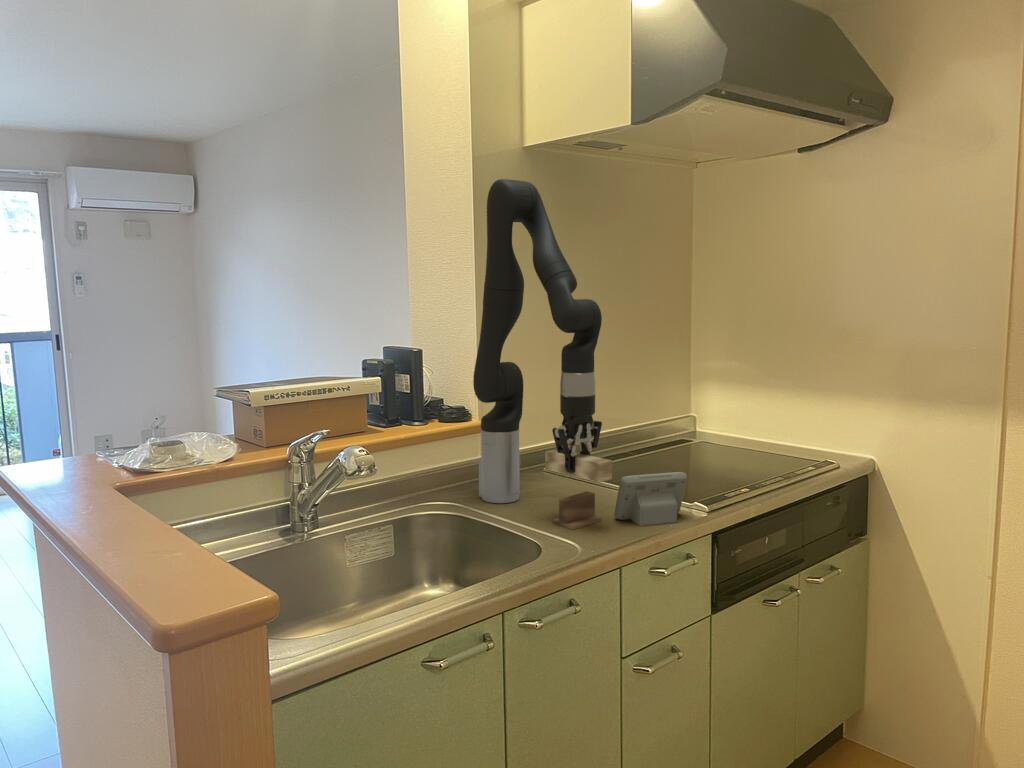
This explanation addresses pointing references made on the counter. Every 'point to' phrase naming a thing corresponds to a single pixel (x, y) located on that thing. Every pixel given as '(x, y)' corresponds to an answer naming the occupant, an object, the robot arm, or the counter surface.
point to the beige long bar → (580, 466)
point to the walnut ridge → (577, 511)
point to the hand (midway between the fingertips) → (577, 469)
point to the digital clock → (651, 498)
